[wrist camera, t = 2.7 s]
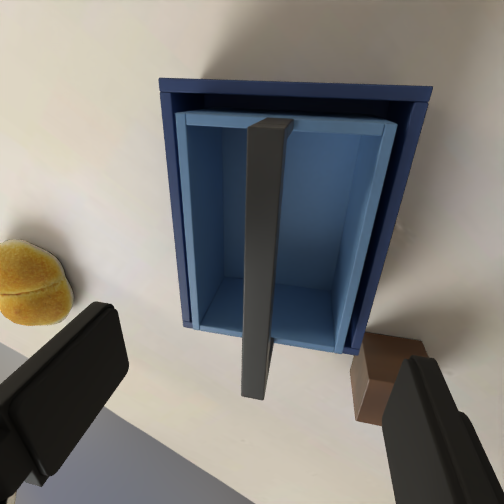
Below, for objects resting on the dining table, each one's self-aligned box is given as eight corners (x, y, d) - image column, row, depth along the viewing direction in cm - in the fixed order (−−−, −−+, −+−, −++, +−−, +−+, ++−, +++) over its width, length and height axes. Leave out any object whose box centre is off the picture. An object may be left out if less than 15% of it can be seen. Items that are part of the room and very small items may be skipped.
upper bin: (216, 107, 19) (123, 119, 10) (372, 114, 18) (431, 136, 9) (220, 277, 25) (165, 381, 16) (336, 293, 24) (348, 417, 15)
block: (360, 331, 26) (368, 378, 22) (422, 340, 25) (443, 391, 21) (349, 371, 28) (355, 421, 24) (405, 380, 28) (422, 434, 23)
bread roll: (52, 234, 28) (14, 254, 24) (88, 312, 31) (60, 339, 28) (-17, 237, 29) (-62, 257, 26) (25, 310, 33) (-9, 336, 30)
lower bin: (198, 81, 19) (157, 77, 14) (401, 88, 17) (433, 86, 13) (207, 284, 27) (183, 327, 22) (350, 304, 25) (358, 356, 20)
